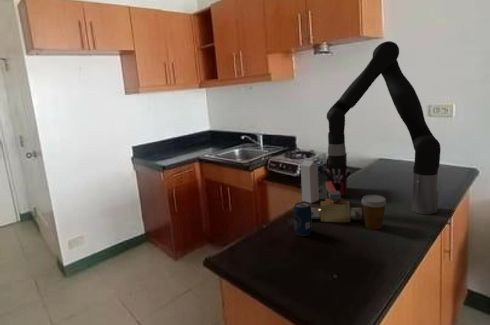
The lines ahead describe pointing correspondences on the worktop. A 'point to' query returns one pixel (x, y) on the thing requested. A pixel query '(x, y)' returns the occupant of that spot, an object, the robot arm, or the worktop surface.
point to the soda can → (302, 218)
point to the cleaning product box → (344, 184)
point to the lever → (332, 191)
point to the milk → (309, 180)
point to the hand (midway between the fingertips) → (338, 190)
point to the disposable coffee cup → (373, 211)
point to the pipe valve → (336, 211)
